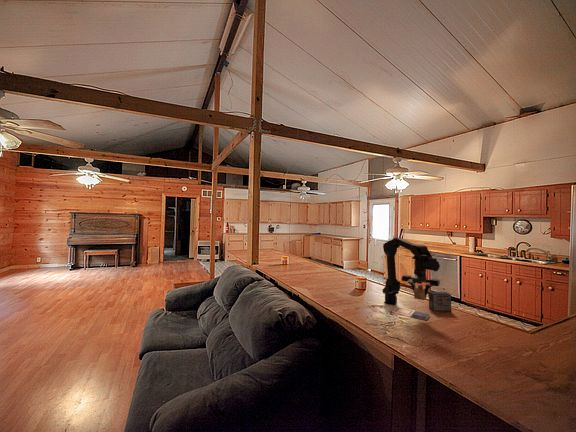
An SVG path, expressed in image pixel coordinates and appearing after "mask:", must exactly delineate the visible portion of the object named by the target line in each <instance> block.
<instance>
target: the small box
mask: <svg viewBox="0 0 576 432" xmlns="http://www.w3.org/2000/svg"><path fill="white" fill-rule="evenodd" d="M428 309H430V310H431V311H432V312H437V311H438V312H437V313H439V312H441V313H452V294H451V293H448V292H447V291H428Z"/></svg>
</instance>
